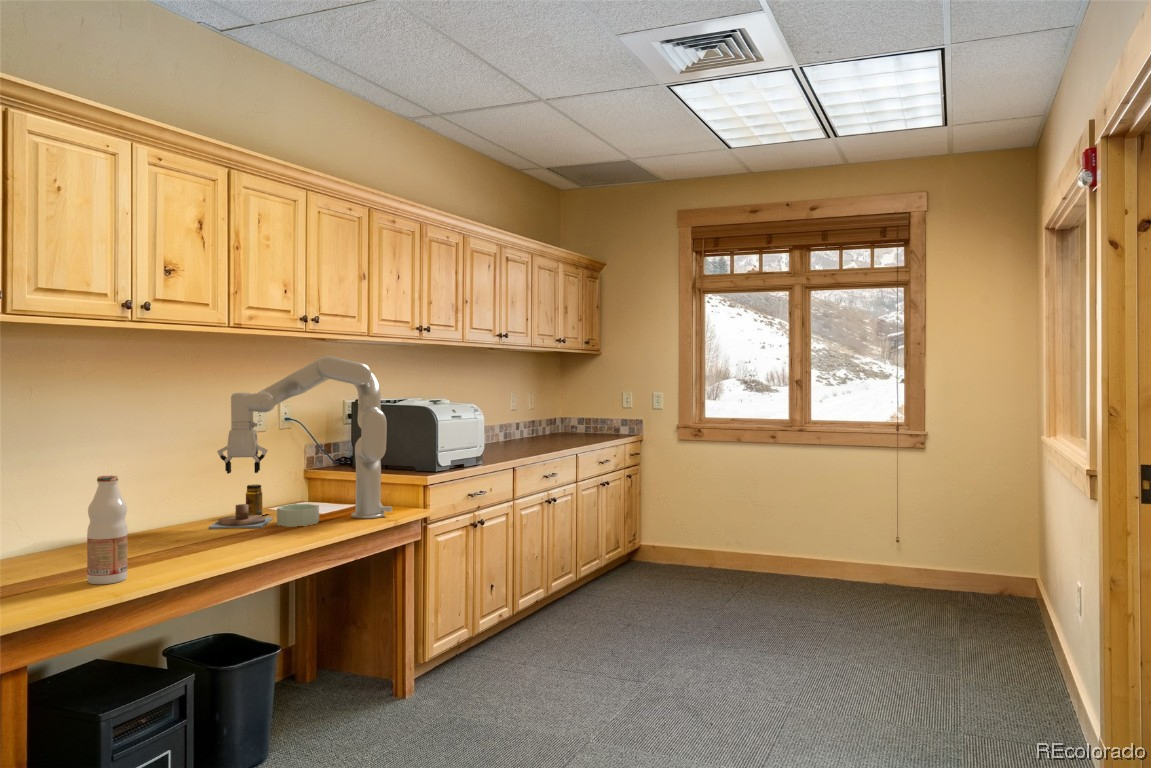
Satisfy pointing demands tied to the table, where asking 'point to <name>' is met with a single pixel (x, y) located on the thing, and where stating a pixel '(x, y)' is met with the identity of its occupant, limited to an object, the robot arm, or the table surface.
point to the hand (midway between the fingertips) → (242, 472)
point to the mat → (260, 525)
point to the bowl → (297, 515)
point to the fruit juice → (107, 534)
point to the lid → (241, 517)
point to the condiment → (254, 499)
